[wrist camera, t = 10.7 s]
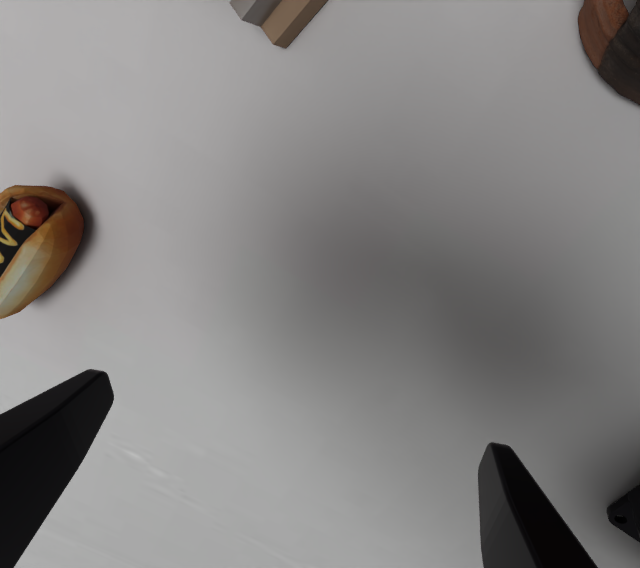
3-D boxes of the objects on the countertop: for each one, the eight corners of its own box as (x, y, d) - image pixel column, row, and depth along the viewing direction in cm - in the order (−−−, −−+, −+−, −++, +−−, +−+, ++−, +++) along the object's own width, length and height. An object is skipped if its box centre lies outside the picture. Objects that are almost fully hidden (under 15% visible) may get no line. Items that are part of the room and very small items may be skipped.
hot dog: (117, 228, 27) (45, 249, 23) (42, 314, 34) (-25, 342, 30) (71, 165, 27) (-11, 175, 23) (4, 265, 34) (-68, 286, 30)
